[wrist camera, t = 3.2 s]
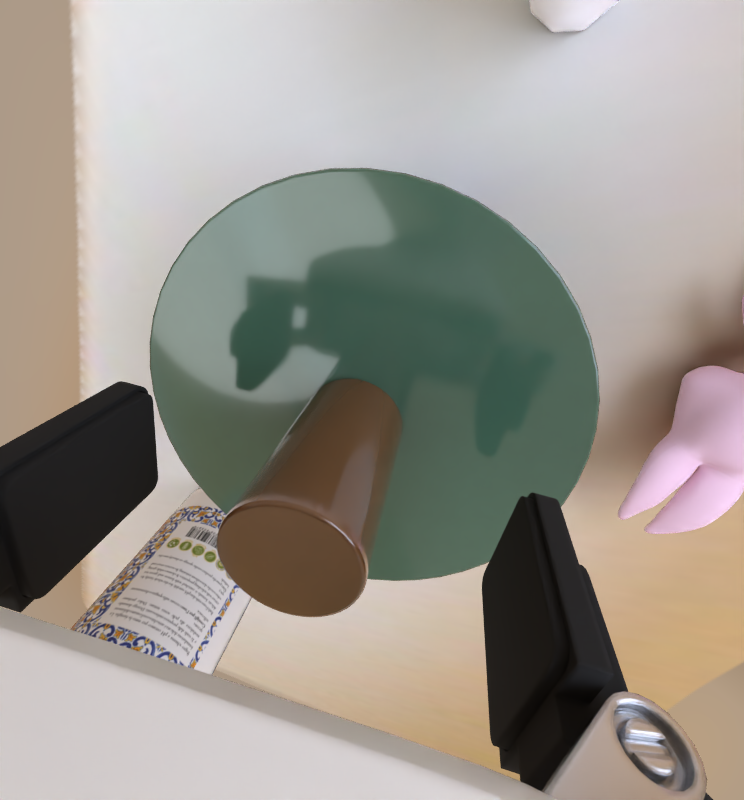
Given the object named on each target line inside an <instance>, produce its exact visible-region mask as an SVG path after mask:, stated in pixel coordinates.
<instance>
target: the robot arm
mask: <svg viewBox="0 0 744 800" xmlns="http://www.w3.org/2000/svg"><path fill="white" fill-rule="evenodd" d="M157 481H158V471H157V456H156V441H155V426H154V411H153V399H152V397H151V395H149V394H148V391H147V390H146V388H144V387H141V386H138V385H134V384H130V383H127V382H121V381H120V382H117V383H115V384H113V385H111V386H110V387H108V388H106V389H104V390H102V391H101V392H99V393H97V394H95V395H93V396H92V397H90V398H88V399H86V400H84V401H83V402H81V403H79V404H78V405H75V406H74V407H72V408H70V409H68V410H67V411H65V412H63V413H61V414H59V415H57V416H56V417H54V418H52V419H50V420H48V421H46V422H45V423H43V424H41V425H39V426H38V427H36V428H34V429H32V430H30V431H28V432H27V433H25V434H23V435H21V436H19V437H18V438H16V439H14V440H12V441H10V442H9V443H7V444H5V445H3V446H1V447H0V606H2V607H5V608H9V609H11V610H14V611H17V612H21V611H23V610H24V609H25V608H26V607H27V606H28V605H29V604H30V603H31V602H32V601H33V600H34V599H38V598H41V597H43V596H44V595H46V594H47V593H48V592H49V591H50V590H51V589H52V588H53V587H54V586H55V585H56V584H57V583H58V582H59V581H60V580H62V579H63V578H64V576H66V575H67V574H68V573H69V572H70V571H71V570H72V569H73V568H74V567H75V566H76V565H77V564H78V563H79V562H80V561H81V560H82V559H83V558H84V557H85V556H86V555H87V554H88V553H89V552H90V551H91V550H92V549H93V548H94V547H96V546H97V545H98V544H99V543H100V542H101V541H102V540H103V539H104V538H105V537H106V536H107V535H108V534H109V533H110V532H111V531H112V530H113V529H114V528H115V527H116V526H117V525H118V524H119V523H120V522H121V521H122V520H123V519H124V518H125V517H126V516H127V515H128V514H129V513H130V512H132V511H133V510H134V509H135V508H136V507H137V506H138V505H139V504H140V503H141V502H142V501H143V500H144V499H145V498H146V497H147V496H148V495H149V494H150V493H151V492H152V491H153V490H154V488H155V486H156V484H157ZM482 597H483V615H484V632H485V650H486V667H487V685H488V703H489V720H490V736H491V741H492V744H493V745H494V746H497V747H499V749H500V763H501V768H502V769H505V770H508V771H512V772H515V773H518V774H520V780H521V782H520V781H518V780H515V779H513V778H510V777H508V776H505V775H503V774H501V773H498V772H496V771H493V770H491V769H488V768H486V767H483V766H481V765H478V764H475V763H472V762H469V761H467V760H464V759H461V758H458V757H455V756H452V755H450V754H447V753H444V752H441V751H438V750H435V749H432V748H430V747H427V746H424V745H421V744H418V743H415V742H412V741H410V740H407V739H404V738H401V737H398V736H395V735H393V734H389V733H386V732H383V731H380V730H377V729H374V728H371V727H368V726H365V725H362V724H359V723H356V722H353V721H350V720H347V719H344V718H341V717H338V716H335V715H332V714H329V713H326V712H323V711H320V710H317V709H314V708H311V707H308V706H305V705H302V704H299V703H296V702H293V701H290V700H287V699H283V698H280V697H277V696H274V695H271V694H268V693H265V692H262V691H259V690H256V689H253V688H250V687H247V686H243V685H241V684H238V683H235V682H232V681H228V680H225V679H222V678H219V677H216V676H213V675H210V674H207V673H204V672H201V671H198V670H195V669H191V668H188V667H185V666H182V665H179V664H176V663H173V662H170V661H167V660H164V659H161V658H157V657H154V656H151V655H148V654H145V653H142V652H139V651H136V650H133V649H130V648H127V647H123V646H120V645H117V644H114V643H111V642H108V641H105V640H102V639H98V638H95V637H92V636H89V635H86V634H83V633H80V632H76V631H73V630H70V629H66V628H64V627H60V626H57V625H54V624H51V623H48V622H45V621H42V620H38V619H35V618H32V617H29V616H26V615H23V614H20V613H17V612H13V611H10V610H7V609H4V608H0V800H713V799H712V798H711V797H710V796H709V795H708V794H707V793H706V785H707V778H706V773H705V769H704V765H703V762H702V760H701V757H700V755H699V753H698V751H697V750H696V748H695V745H694V744H693V742H692V741H691V739H690V738H689V737H688V735H687V734H686V732H685V731H684V730H683V728H682V727H681V726H680V725H679V724H678V723H677V722H676V721H675V720H674V719H673V718H672V717H671V716H670V715H669V714H668V713H667V712H666V711H665V710H663V709H662V708H661V707H659V706H658V705H657V704H655V703H654V702H653V701H651V700H649V699H647V698H645V697H643V696H641V695H639V694H635V693H630V692H628V689H627V687H626V684H625V681H624V678H623V675H622V672H621V669H620V666H619V663H618V660H617V657H616V654H615V651H614V648H613V645H612V642H611V639H610V636H609V633H608V630H607V627H606V624H605V621H604V619H603V616H602V613H601V610H600V607H599V604H598V601H597V598H596V595H595V592H594V589H593V586H592V583H591V580H590V577H589V574H588V572H587V570H586V569H585V568H584V567H583V566H582V565H579V563H578V560H577V557H576V554H575V550H574V547H573V544H572V541H571V538H570V535H569V532H568V529H567V526H566V522H565V519H564V516H563V513H562V510H561V507H560V504H559V502H558V500H557V499H555V498H552V497H548V496H544V495H541V494H537V493H530V494H529V495H528V497H524V496H521V497H520V498H519V500H518V502H517V504H516V506H515V508H514V510H513V513H512V515H511V517H510V519H509V521H508V523H507V525H506V528H505V530H504V532H503V534H502V536H501V538H500V540H499V542H498V545H497V547H496V549H495V551H494V553H493V555H492V557H491V560H490V562H489V564H488V566H487V568H486V570H485V573H484V576H483V581H482Z"/></svg>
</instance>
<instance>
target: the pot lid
mask: <svg viewBox="0 0 744 800" xmlns="http://www.w3.org/2000/svg"><path fill="white" fill-rule="evenodd" d="M150 370H151V378H152V385H153V392H154V396H155V399H156V403H157V407H158V411H159V414H160V417H161V420H162V422H163V425H164V427H165V430H166V432H167V435H168V437H169V439H170V441H171V443H172V445H173V447H174V449H175V451H176V453H177V454H178V456H179V458H180V460H181V461H182V463H183V464H184V466H185V467H186V469H187V470H188V472H189V473H190V475H191V476H192V478H193V479H194V480H195V482H196V483H197V484H198V485H199V486H200V488H201V489H202V490H203V491H204V492H205V494H206V495H207V496H208V497H209V498H210V499H211V500H212V501H213V502H214V503H215V504H216V505H217V506H218V507H219V508H220V509H221V510H222V511H223V512H224V513H225V514H226V516H225V518H224V519H223V521H222V523H221V525H220V527H219V530H218V534H217V552H218V556H219V559H220V561H221V564H222V566H223V567H224V569H225V571H226V572H227V574H228V575H229V577H230V578H231V579H232V580H233V581H234V583H235V584H236V585H237V586H238V587H239V588H240V589H242V590H243V591H244V592H245V593H246V594H248V595H249V596H250V597H252V598H253V599H255V600H257V601H258V602H260V603H262V604H264V605H266V606H268V607H270V608H272V609H275V610H277V611H280V612H283V613H287V614H291V615H296V616H303V617H322V616H328V615H333V614H336V613H339V612H341V611H343V610H345V609H347V608H348V607H350V606H351V605H352V604H353V603H354V602H355V601H356V600H357V599H358V598H359V597H360V595H361V594H362V592H363V590H364V587H365V585H366V581H367V579H374V580H390V581H401V580H421V579H429V578H436V577H442V576H446V575H451V574H455V573H459V572H463V571H466V570H469V569H472V568H474V567H477V566H480V565H483V564H486V563H488V562H490V560H491V557H492V555H493V553H494V551H495V549H496V547H497V545H498V542H499V540H500V538H501V536H502V534H503V532H504V530H505V528H506V525H507V523H508V521H509V519H510V517H511V515H512V513H513V510H514V508H515V506H516V504H517V502H518V500H519V498H520V497H521V496H524V497H528V495H529V494H530V493H537V494H541V495H544V496H548V497H552V498H555V499H557V500H558V502H559V504H560V507H561V506H562V505H563V504H564V502H565V501H566V499H567V498H568V496H569V495H570V493H571V491H572V490H573V488H574V487H575V485H576V484H577V482H578V480H579V478H580V476H581V473H582V471H583V469H584V467H585V465H586V462H587V460H588V458H589V455H590V451H591V448H592V444H593V440H594V437H595V433H596V429H597V420H598V411H599V402H600V397H599V378H598V367H597V363H596V358H595V353H594V349H593V344H592V339H591V336H590V334H589V331H588V329H587V326H586V324H585V321H584V319H583V316H582V313H581V311H580V308H579V306H578V304H577V303H576V301H575V299H574V298H573V296H572V294H571V292H570V291H569V289H568V287H567V286H566V284H565V282H564V280H563V279H562V277H561V276H560V274H559V273H558V272H557V271H556V269H555V268H554V267H553V266H552V265H551V263H550V262H549V261H548V260H547V258H546V257H545V256H544V255H543V254H542V252H541V251H540V250H539V249H538V247H536V246H535V245H534V244H533V243H532V242H531V241H530V240H529V239H528V238H526V237H525V236H524V235H523V234H522V233H521V232H520V231H519V230H518V229H517V228H515V227H514V226H513V225H512V224H511V223H510V222H509V221H507V220H506V219H504V218H503V217H501V216H500V215H498V214H497V213H495V212H494V211H492V210H491V209H489V208H488V207H486V206H485V205H483V204H482V203H480V202H479V201H477V200H475V199H473V198H471V197H469V196H467V195H464V194H462V193H460V192H458V191H456V190H454V189H452V188H449V187H447V186H445V185H443V184H440V183H436V182H433V181H430V180H426V179H423V178H419V177H416V176H413V175H409V174H406V173H400V172H392V171H385V170H378V169H371V168H330V169H324V170H318V171H312V172H306V173H301V174H295V175H292V176H289V177H286V178H283V179H280V180H277V181H274V182H271V183H268V184H265V185H262V186H260V187H258V188H257V189H255V190H253V191H251V192H249V193H247V194H245V195H243V196H242V197H240V198H238V199H236V200H234V201H233V202H231V203H230V204H229V205H227V206H226V207H225V208H223V209H222V210H221V211H220V212H218V213H217V214H216V215H214V216H213V217H212V218H210V219H209V220H208V221H207V222H206V223H205V224H204V225H203V226H202V227H201V229H200V230H199V231H198V232H197V233H196V234H195V235H194V236H193V237H192V238H191V239H190V240H189V241H188V243H187V244H186V246H185V247H184V249H183V250H182V252H181V253H180V255H179V256H178V258H177V259H176V261H175V262H174V264H173V265H172V267H171V269H170V271H169V274H168V276H167V278H166V280H165V282H164V284H163V287H162V289H161V291H160V294H159V298H158V301H157V305H156V309H155V312H154V316H153V322H152V330H151V337H150Z"/></svg>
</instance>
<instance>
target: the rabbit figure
mask: <svg viewBox="0 0 744 800" xmlns="http://www.w3.org/2000/svg"><path fill="white" fill-rule="evenodd" d="M742 315H743V324H744V296H743V298H742ZM697 467H698V468H697ZM696 468H697V469H696ZM695 469H696V471H695ZM694 471H695V472H694ZM693 472H694V473H693ZM692 473H693V474H692ZM690 476H691V477H690ZM689 477H690V478H689ZM688 478H689V479H688ZM687 479H688V480H687ZM686 480H687V481H686ZM685 481H686V482H685ZM684 482H685V483H684ZM683 483H684V485H683V486H682V487H681V488H680V489H679V490H678V492H677V493H676V494H675V495H674V497H673V498H672V499H671V500H670V501H669V502H668V503H667V505H666V506H665V507H664V508H663V509H661V511H660V512H659V513H658V514H657V515H656V517H655V518H654V519H653V520H652V521H651V522H650V523H649V524H648V525H647V526H646V527H645V529H644V530H645V531H646V532H647V533H651V534H667V533H679V532H686V531H691V530H695V529H698V528H701V527H704V526H706V525H708V524H710V523H711V522H713V521H714V520H716V519H717V518H719V517H720V516H721V515H723V514H724V513H725V512H726V511H727V510H729V509H730V508H731V507H732V506H733V505H734V503H735V502H736V501H737V500H738V499H739V497H740V496H741V494H742V492H743V489H744V373H743V372H735V371H733V370H730V369H727V368H724V367H720V366H704V367H699V368H697V369H694V370H692V371H690V372H688V373H687V374H686V375H685V376H684V377H683V379H682V382H681V386H680V391H679V395H678V399H677V403H676V408H675V414H674V420H673V425H672V428H671V430H670V432H669V433H668V434H667V435H666V436H665V437H664V438H663V439H662V440H661V441H660V442H659V443H658V444H657V445H656V446H655V447H654V449H653V450H652V451H651V453H650V454H649V456H648V457H647V459H646V461H645V462H644V464H643V466H642V468H641V470H640V473H639V475H638V477H637V478H636V480H635V482H634V483H633V485H632V487H631V489H630V490H629V492H628V494H627V496H626V498H625V500H624V501H623V503H622V505H621V507H620V508H619V511H618V517H619V518H620V519H622V520H624V519H627V518H629V517H631V516H633V515H635V514H638V513H640V512H642V511H645V510H647V509H649V508H651V507H653V506H655V505H657V504H659V503H660V502H662V501H663V500H664V499H665V498H666V497H668V496H669V495H670V494H671V493H672V492H673V491H674V490H676V489H677V488H678V487H679V486H681V485H682V484H683Z"/></svg>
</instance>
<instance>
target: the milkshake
mask: <svg viewBox="0 0 744 800" xmlns="http://www.w3.org/2000/svg"><path fill="white" fill-rule="evenodd" d="M619 1H620V0H529V5H530V12H531V13H532V14H533V15H534V16H535V17H536V18H537V19H538V20H539V21H540V22H541V23H543V24H544V25H545V26H546V27H547V28H548V29H549V30H550V31H551V32H552V33H555V32H569V31H583V30H585V29H586V28H587V27H588V26H590V25H591V24H592V23H593V22H594V21H596V20H597V19H598V18H599V17H601V16H602V15H603V14H604V13H605V12H607V11H608V10H609V9H610V8H612V7H613V6H614V5H615V4H616V3H618V2H619Z"/></svg>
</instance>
